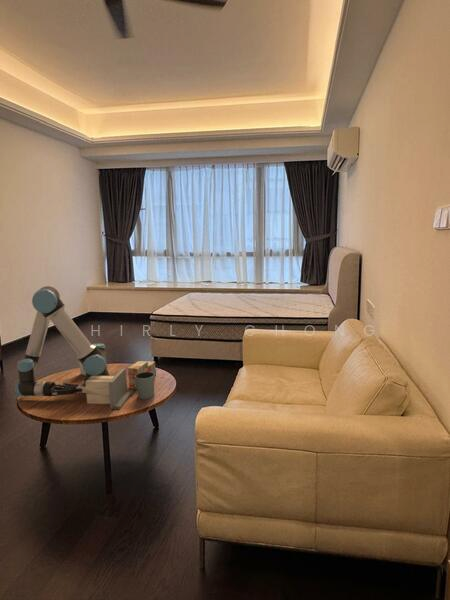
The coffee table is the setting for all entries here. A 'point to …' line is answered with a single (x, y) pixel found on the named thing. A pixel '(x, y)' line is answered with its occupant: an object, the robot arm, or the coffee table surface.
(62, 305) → the robot arm
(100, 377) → the ash block
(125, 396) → the stop board
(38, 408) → the coffee table surface
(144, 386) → the green cup
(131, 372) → the stack of blocks
